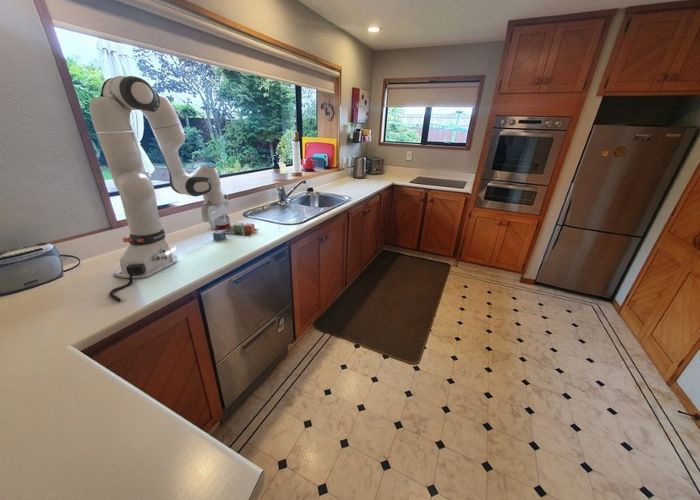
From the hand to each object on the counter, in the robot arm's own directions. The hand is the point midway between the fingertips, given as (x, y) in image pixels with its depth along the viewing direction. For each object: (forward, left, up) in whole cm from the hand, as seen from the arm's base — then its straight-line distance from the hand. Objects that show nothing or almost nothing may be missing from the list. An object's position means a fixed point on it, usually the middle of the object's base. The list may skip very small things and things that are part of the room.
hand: (218, 225), depth 145 cm
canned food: (+17, +9, -8) cm, 21 cm away
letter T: (-1, 0, -8) cm, 8 cm away
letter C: (+11, -11, -8) cm, 18 cm away
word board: (+11, -5, -8) cm, 15 cm away
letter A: (+11, -5, -8) cm, 15 cm away
